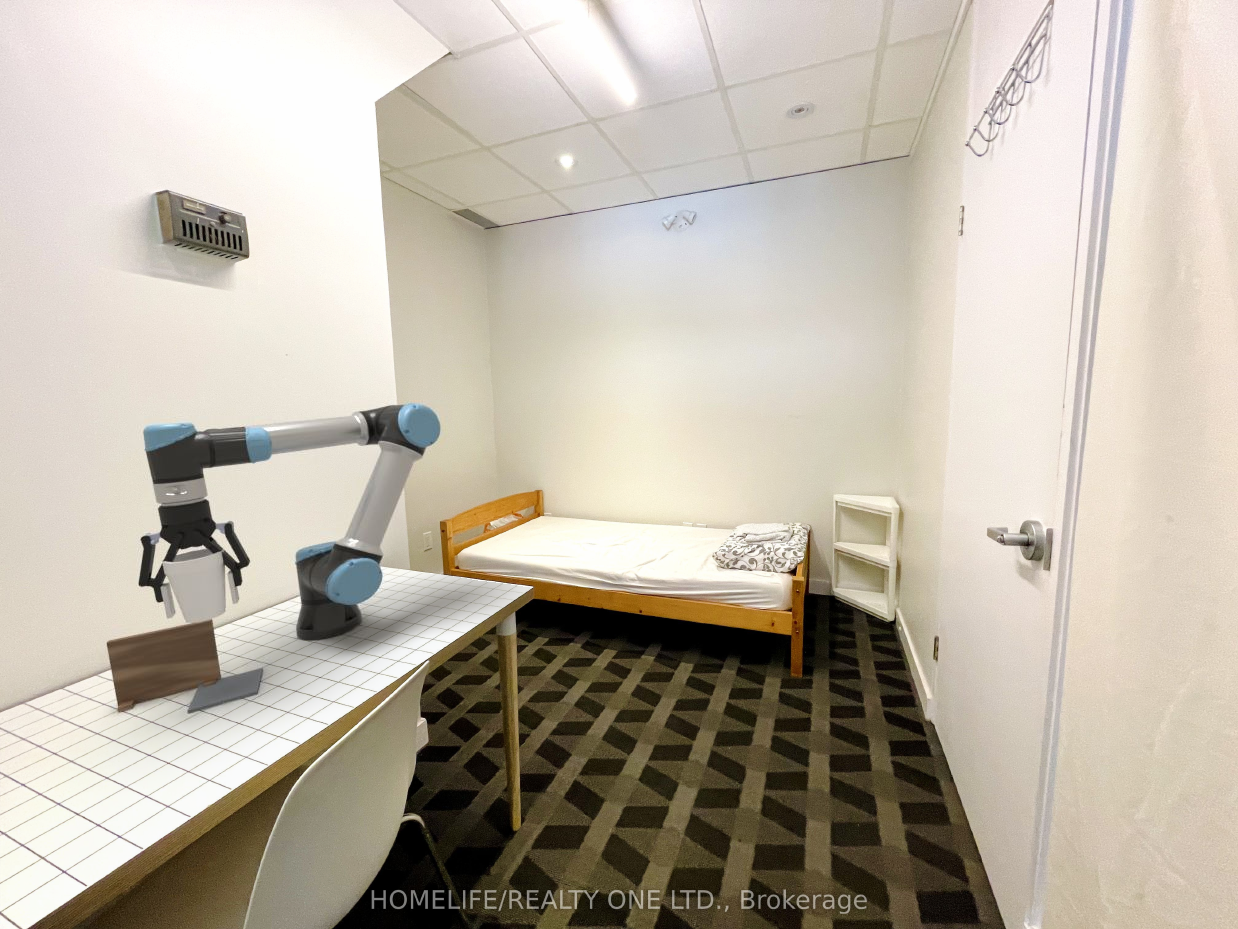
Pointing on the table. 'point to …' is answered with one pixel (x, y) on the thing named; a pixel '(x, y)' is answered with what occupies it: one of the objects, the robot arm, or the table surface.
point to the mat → (226, 690)
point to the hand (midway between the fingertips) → (204, 608)
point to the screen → (163, 662)
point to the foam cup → (198, 584)
